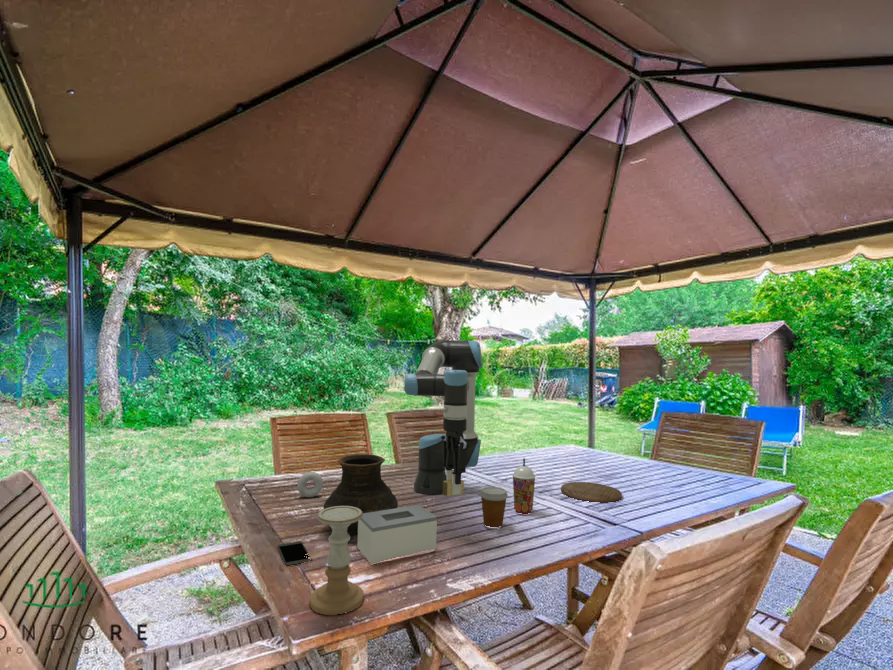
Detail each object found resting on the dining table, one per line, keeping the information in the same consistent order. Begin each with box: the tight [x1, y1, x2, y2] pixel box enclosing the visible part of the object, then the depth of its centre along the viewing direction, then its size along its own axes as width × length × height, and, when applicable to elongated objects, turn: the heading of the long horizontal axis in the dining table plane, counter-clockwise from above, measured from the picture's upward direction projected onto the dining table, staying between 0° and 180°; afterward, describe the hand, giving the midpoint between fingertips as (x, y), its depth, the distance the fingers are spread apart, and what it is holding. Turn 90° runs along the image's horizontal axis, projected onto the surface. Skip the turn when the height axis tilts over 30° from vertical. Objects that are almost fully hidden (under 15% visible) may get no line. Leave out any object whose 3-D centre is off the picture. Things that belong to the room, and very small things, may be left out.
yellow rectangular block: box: [442, 479, 465, 497], centre depth 141 cm, size 6×3×4 cm, turn 120°
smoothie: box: [512, 457, 536, 514], centre depth 166 cm, size 8×8×20 cm
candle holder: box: [309, 506, 365, 616], centre depth 104 cm, size 12×12×20 cm
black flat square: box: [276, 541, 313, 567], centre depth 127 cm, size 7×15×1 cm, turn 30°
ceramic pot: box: [323, 453, 399, 533], centre depth 148 cm, size 24×24×22 cm
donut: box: [296, 471, 324, 498], centre depth 178 cm, size 10×4×10 cm, turn 109°
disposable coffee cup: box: [479, 486, 509, 527], centre depth 152 cm, size 10×10×12 cm
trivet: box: [560, 481, 623, 504], centre depth 192 cm, size 25×25×2 cm
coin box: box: [356, 504, 438, 564], centre depth 131 cm, size 20×12×10 cm, turn 119°
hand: (453, 492), depth 141 cm, fingers closed on yellow rectangular block, 3 cm apart
